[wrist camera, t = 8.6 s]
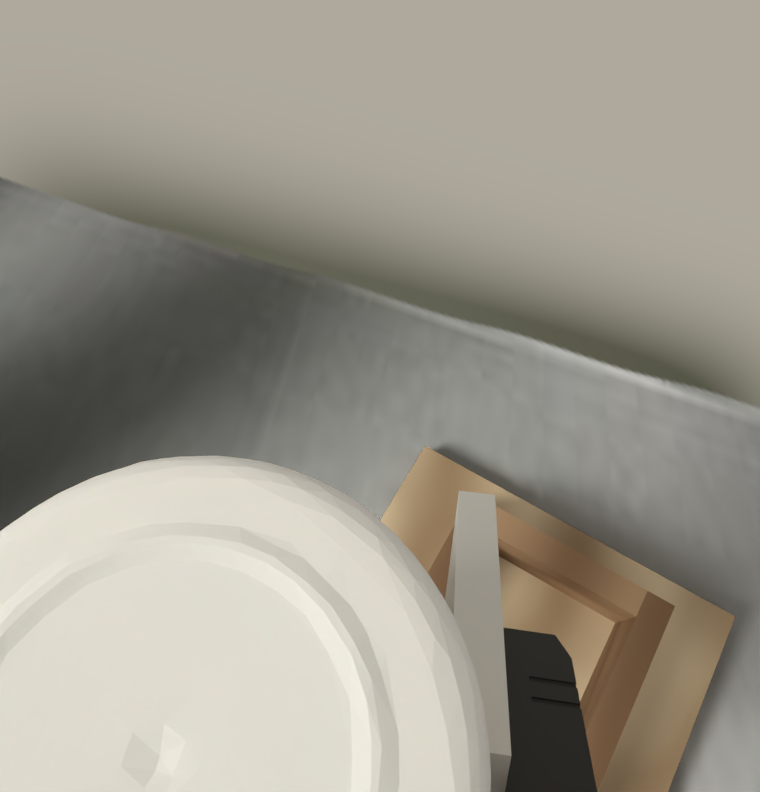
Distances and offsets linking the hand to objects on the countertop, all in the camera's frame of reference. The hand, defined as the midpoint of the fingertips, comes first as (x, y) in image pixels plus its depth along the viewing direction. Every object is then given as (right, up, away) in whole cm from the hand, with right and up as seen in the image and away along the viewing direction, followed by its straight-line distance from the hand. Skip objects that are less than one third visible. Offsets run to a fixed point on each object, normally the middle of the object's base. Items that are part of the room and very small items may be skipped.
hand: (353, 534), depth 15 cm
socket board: (+6, -9, +17) cm, 20 cm away
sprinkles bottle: (0, -5, +2) cm, 6 cm away
